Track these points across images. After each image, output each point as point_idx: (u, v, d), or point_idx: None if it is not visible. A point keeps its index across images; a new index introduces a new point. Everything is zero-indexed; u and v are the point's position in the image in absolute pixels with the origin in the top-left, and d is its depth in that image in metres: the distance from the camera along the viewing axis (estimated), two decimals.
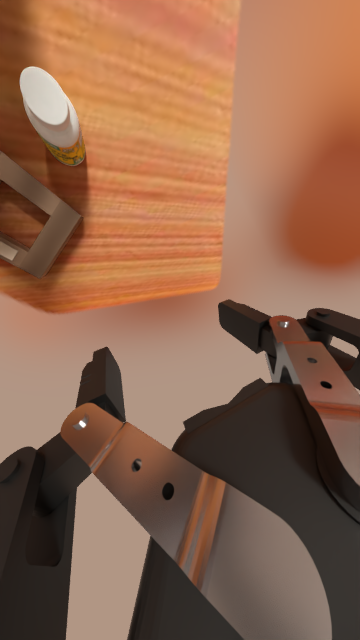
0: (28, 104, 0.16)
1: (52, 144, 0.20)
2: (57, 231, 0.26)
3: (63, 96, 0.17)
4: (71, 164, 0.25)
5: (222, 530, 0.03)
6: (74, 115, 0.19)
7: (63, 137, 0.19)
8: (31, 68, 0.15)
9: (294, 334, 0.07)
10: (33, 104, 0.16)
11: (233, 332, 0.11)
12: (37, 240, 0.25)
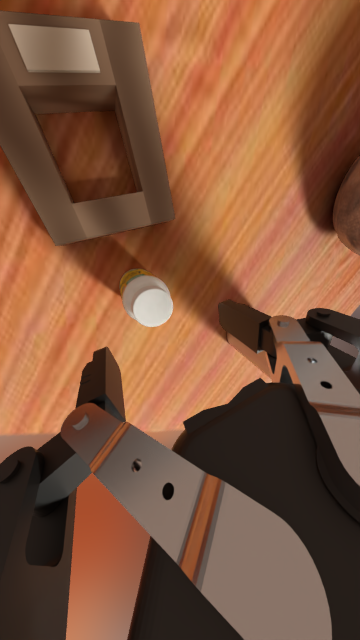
0: (155, 290, 0.15)
1: (130, 281, 0.16)
2: (43, 187, 0.14)
3: (148, 325, 0.16)
4: (120, 280, 0.21)
5: (222, 530, 0.03)
6: None
7: (128, 298, 0.16)
8: (171, 311, 0.16)
9: (294, 334, 0.07)
10: (154, 294, 0.15)
11: (233, 332, 0.11)
12: (38, 136, 0.13)
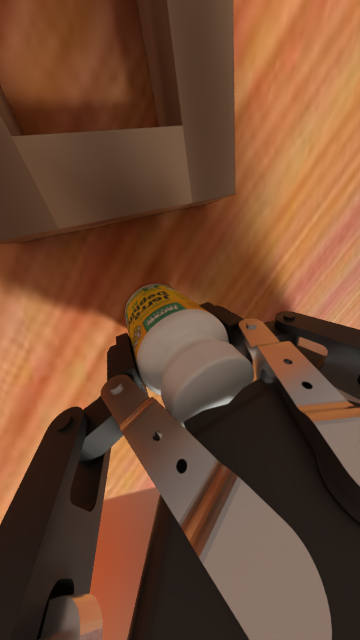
0: (228, 360, 0.06)
1: (155, 323, 0.07)
2: None
3: None
4: (128, 305, 0.12)
5: (222, 530, 0.03)
6: None
7: (152, 365, 0.07)
8: None
9: (263, 336, 0.07)
10: (223, 369, 0.06)
11: None
12: None
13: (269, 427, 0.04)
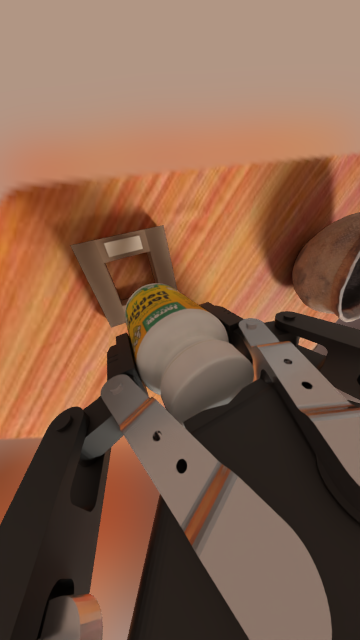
0: (228, 360, 0.06)
1: (155, 323, 0.07)
2: (108, 301, 0.25)
3: None
4: (128, 304, 0.12)
5: (222, 530, 0.03)
6: None
7: (152, 365, 0.07)
8: None
9: (264, 336, 0.07)
10: (223, 369, 0.06)
11: None
12: (109, 280, 0.24)
13: (269, 427, 0.04)
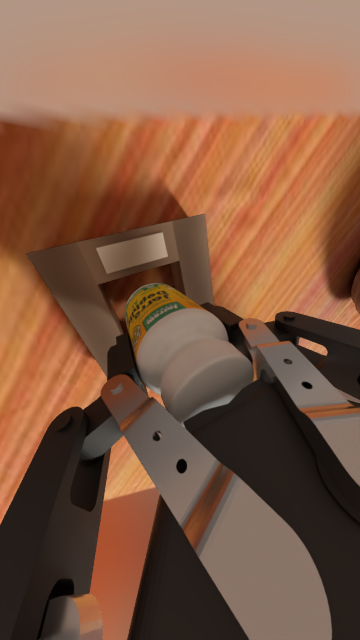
0: (228, 359, 0.06)
1: (155, 322, 0.07)
2: (107, 347, 0.15)
3: None
4: (128, 304, 0.12)
5: (222, 530, 0.03)
6: None
7: (152, 364, 0.07)
8: None
9: (264, 336, 0.07)
10: (223, 369, 0.06)
11: None
12: (108, 313, 0.13)
13: (269, 427, 0.04)
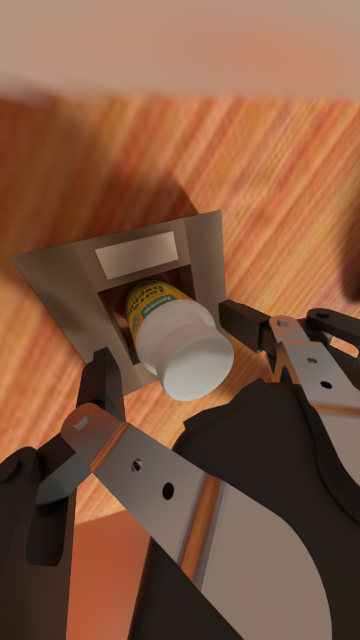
0: (210, 338, 0.07)
1: (151, 311, 0.09)
2: None
3: (188, 399, 0.08)
4: (128, 299, 0.13)
5: (222, 530, 0.03)
6: None
7: (149, 346, 0.08)
8: (228, 369, 0.09)
9: (294, 334, 0.07)
10: (206, 346, 0.07)
11: (233, 332, 0.11)
12: (109, 324, 0.12)
13: (276, 414, 0.04)
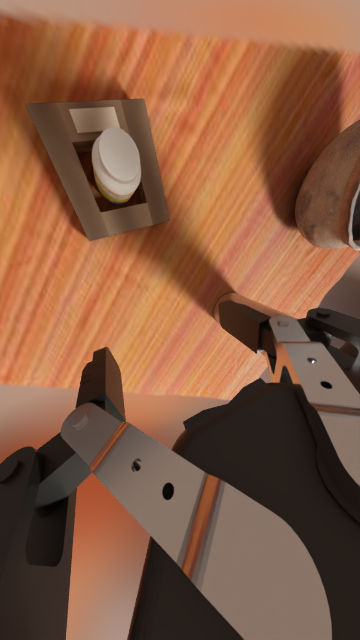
0: (120, 130, 0.15)
1: (98, 138, 0.17)
2: (83, 202, 0.21)
3: (116, 176, 0.16)
4: None
5: (222, 530, 0.03)
6: (110, 185, 0.18)
7: (97, 152, 0.17)
8: (138, 165, 0.17)
9: (294, 334, 0.07)
10: (118, 135, 0.15)
11: (233, 332, 0.11)
12: (81, 170, 0.20)
13: (276, 415, 0.04)
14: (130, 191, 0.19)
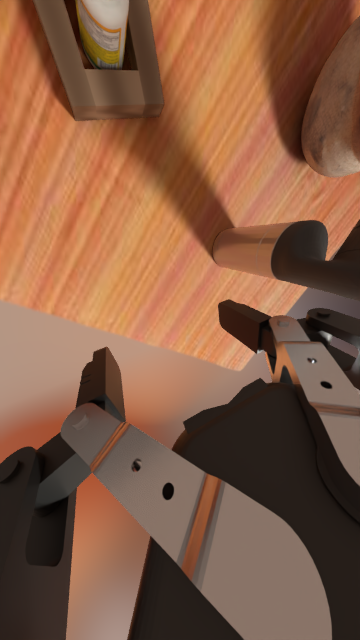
0: None
1: None
2: (64, 48, 0.19)
3: None
4: None
5: (222, 530, 0.03)
6: (92, 1, 0.16)
7: None
8: None
9: (294, 335, 0.07)
10: None
11: (233, 332, 0.11)
12: (62, 2, 0.17)
13: (276, 414, 0.04)
14: (116, 20, 0.17)
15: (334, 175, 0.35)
